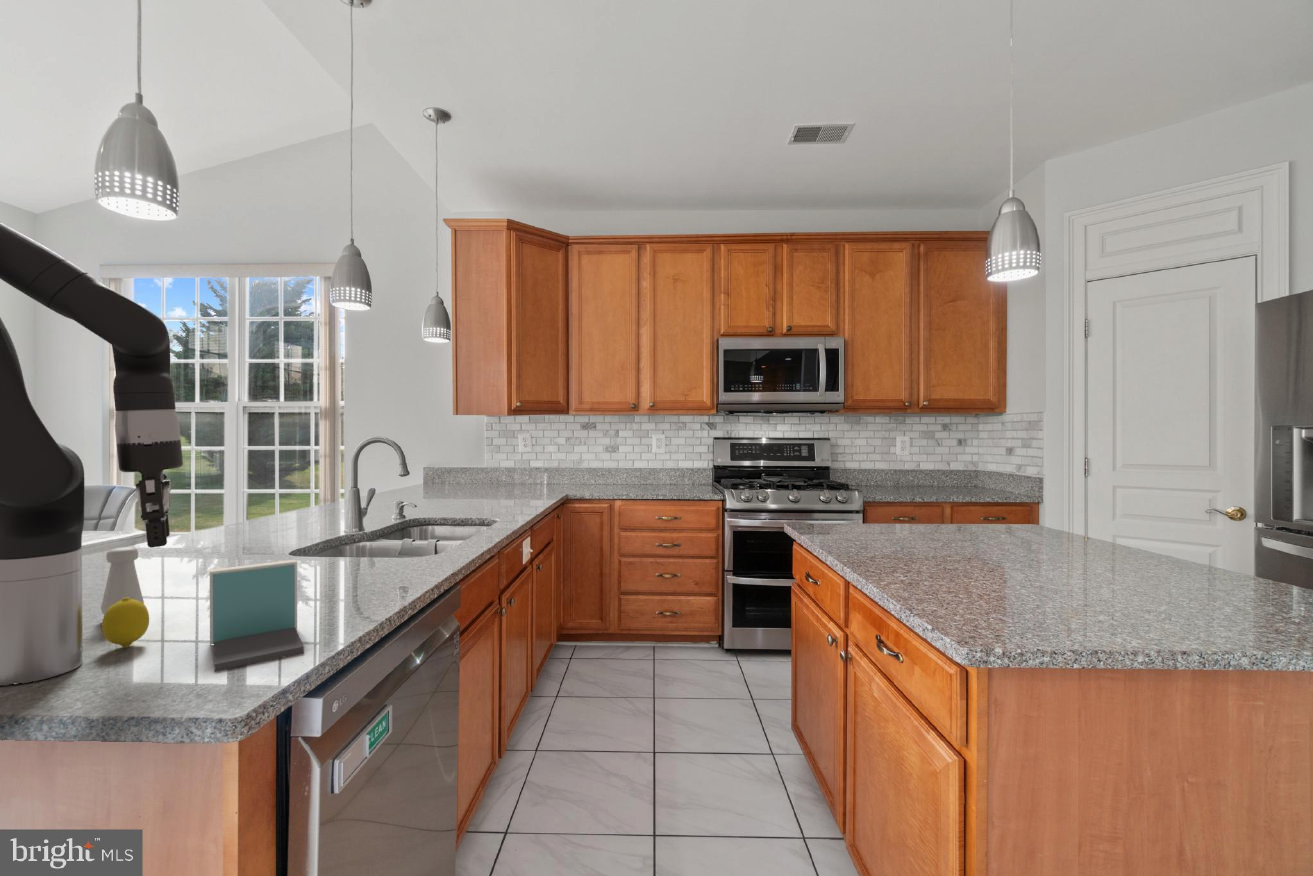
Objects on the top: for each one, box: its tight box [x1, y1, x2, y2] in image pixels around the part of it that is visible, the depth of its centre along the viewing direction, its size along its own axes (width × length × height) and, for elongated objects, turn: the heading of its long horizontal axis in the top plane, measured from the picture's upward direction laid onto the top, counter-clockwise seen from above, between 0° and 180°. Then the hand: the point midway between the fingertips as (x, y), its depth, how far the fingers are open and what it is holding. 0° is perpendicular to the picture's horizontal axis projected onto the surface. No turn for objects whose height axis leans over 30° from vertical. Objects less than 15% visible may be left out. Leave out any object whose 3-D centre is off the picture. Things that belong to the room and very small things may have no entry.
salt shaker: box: [100, 546, 145, 616], centre depth 104 cm, size 6×6×13 cm
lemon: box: [101, 597, 150, 648], centre depth 91 cm, size 6×6×8 cm
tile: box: [209, 559, 298, 646], centre depth 96 cm, size 12×2×12 cm, turn 129°
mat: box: [213, 627, 305, 672], centre depth 90 cm, size 11×11×1 cm
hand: (159, 541), depth 89 cm, fingers open, 8 cm apart
